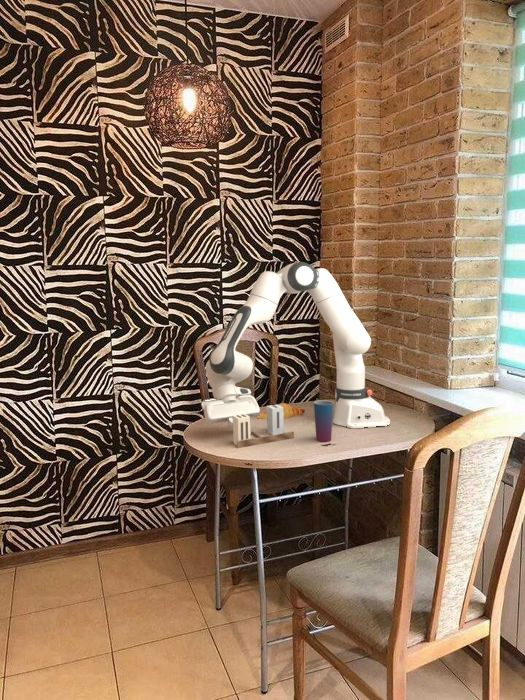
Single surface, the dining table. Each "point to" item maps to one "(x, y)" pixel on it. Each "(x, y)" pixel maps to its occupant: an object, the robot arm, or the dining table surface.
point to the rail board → (264, 439)
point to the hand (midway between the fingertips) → (238, 429)
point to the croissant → (285, 411)
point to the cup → (323, 420)
